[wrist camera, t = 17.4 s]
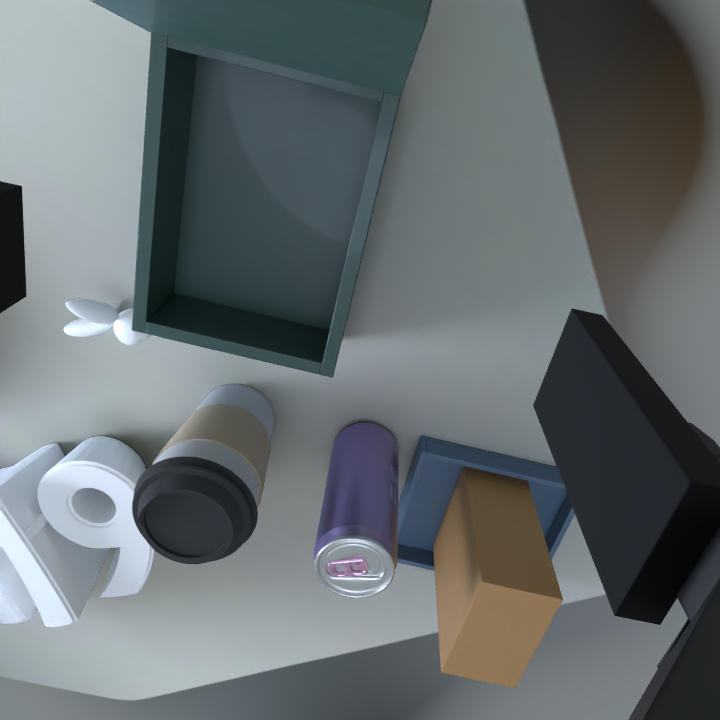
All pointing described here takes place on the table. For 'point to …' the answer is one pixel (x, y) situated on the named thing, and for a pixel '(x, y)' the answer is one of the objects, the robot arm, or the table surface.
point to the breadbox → (254, 203)
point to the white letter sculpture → (69, 530)
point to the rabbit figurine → (102, 321)
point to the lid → (297, 33)
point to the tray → (437, 482)
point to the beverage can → (359, 513)
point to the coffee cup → (207, 479)
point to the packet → (492, 579)
